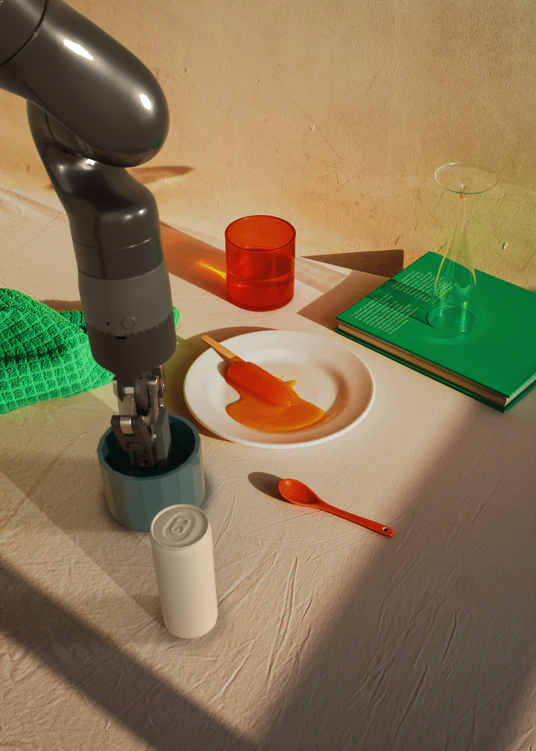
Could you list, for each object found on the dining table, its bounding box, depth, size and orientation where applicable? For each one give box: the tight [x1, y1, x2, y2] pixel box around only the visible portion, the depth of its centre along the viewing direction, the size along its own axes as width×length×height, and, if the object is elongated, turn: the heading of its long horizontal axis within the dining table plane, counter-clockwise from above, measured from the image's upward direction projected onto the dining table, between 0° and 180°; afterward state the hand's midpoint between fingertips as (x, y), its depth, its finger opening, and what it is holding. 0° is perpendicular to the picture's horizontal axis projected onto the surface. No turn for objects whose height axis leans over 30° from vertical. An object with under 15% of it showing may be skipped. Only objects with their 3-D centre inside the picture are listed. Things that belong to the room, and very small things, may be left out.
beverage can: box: [149, 504, 219, 640], centre depth 61 cm, size 5×5×12 cm
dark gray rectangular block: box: [129, 407, 172, 466], centre depth 72 cm, size 3×4×5 cm
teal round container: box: [96, 412, 206, 532], centre depth 74 cm, size 10×10×7 cm
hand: (150, 453), depth 73 cm, fingers closed on dark gray rectangular block, 3 cm apart
